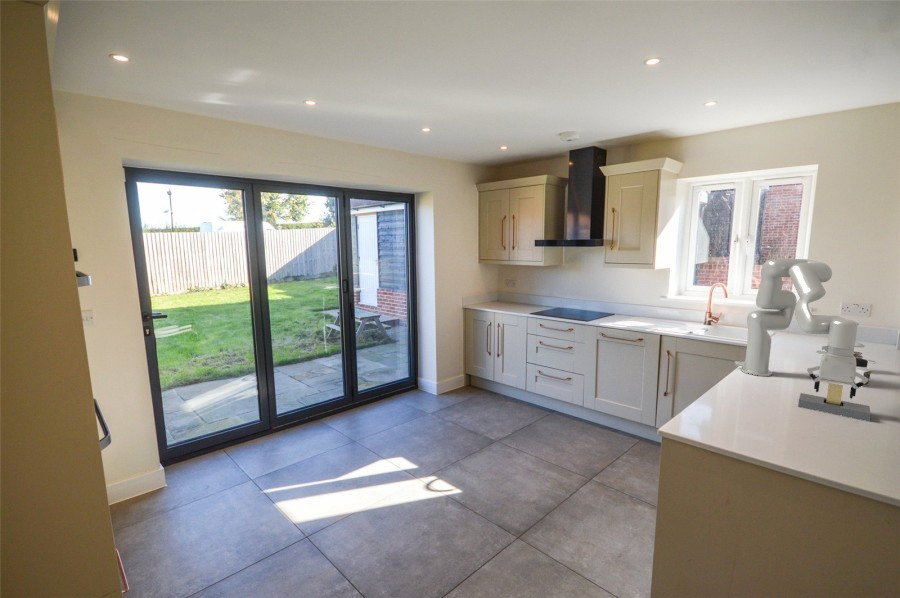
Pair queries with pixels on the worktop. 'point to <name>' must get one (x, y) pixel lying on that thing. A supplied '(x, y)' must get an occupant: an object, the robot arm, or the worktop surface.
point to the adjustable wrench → (824, 352)
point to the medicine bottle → (862, 370)
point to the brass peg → (834, 394)
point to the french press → (857, 354)
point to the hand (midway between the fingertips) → (833, 394)
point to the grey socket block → (835, 407)
